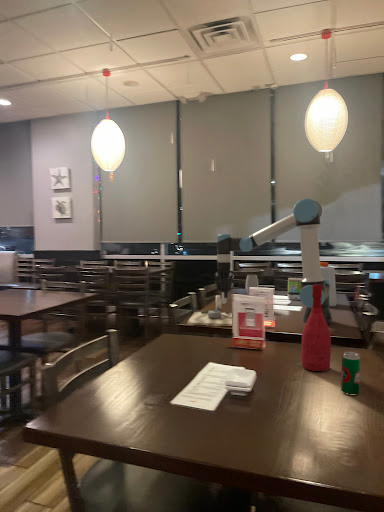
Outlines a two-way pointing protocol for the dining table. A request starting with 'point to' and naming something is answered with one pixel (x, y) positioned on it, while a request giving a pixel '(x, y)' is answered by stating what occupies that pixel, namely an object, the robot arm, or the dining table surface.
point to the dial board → (210, 319)
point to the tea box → (294, 288)
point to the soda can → (350, 373)
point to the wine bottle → (316, 336)
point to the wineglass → (251, 282)
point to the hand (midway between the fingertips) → (224, 303)
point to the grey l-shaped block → (216, 312)
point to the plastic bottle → (329, 274)
